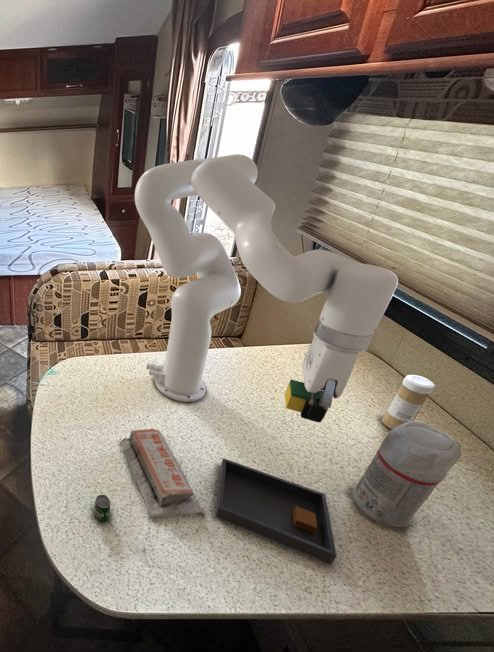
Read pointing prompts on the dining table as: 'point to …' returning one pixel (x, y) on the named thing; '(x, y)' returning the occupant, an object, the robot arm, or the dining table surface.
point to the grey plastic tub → (405, 472)
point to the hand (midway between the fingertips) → (309, 409)
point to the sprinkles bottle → (408, 400)
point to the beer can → (102, 508)
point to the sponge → (297, 396)
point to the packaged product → (159, 475)
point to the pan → (274, 509)
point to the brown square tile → (304, 519)
